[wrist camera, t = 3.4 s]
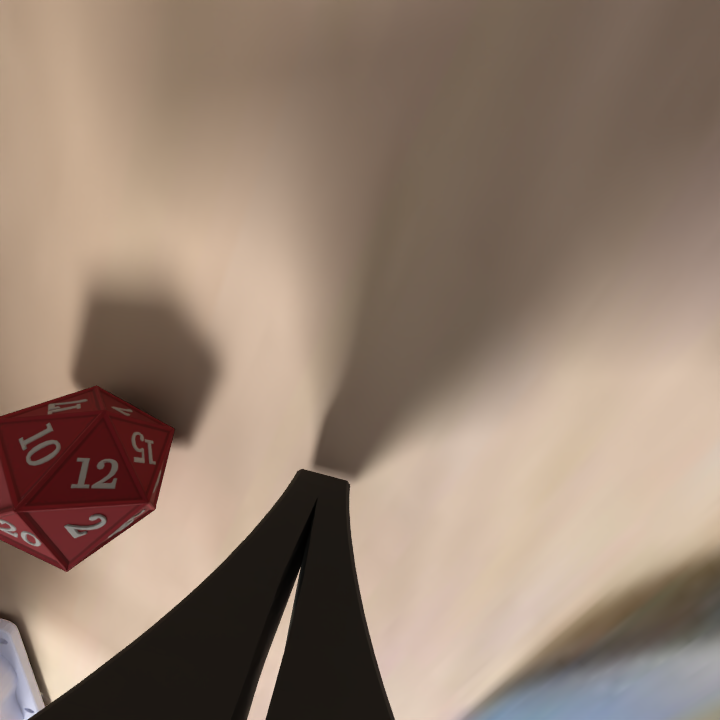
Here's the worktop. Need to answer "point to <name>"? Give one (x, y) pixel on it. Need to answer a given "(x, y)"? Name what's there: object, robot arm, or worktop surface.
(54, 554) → the dice
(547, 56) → the worktop surface
